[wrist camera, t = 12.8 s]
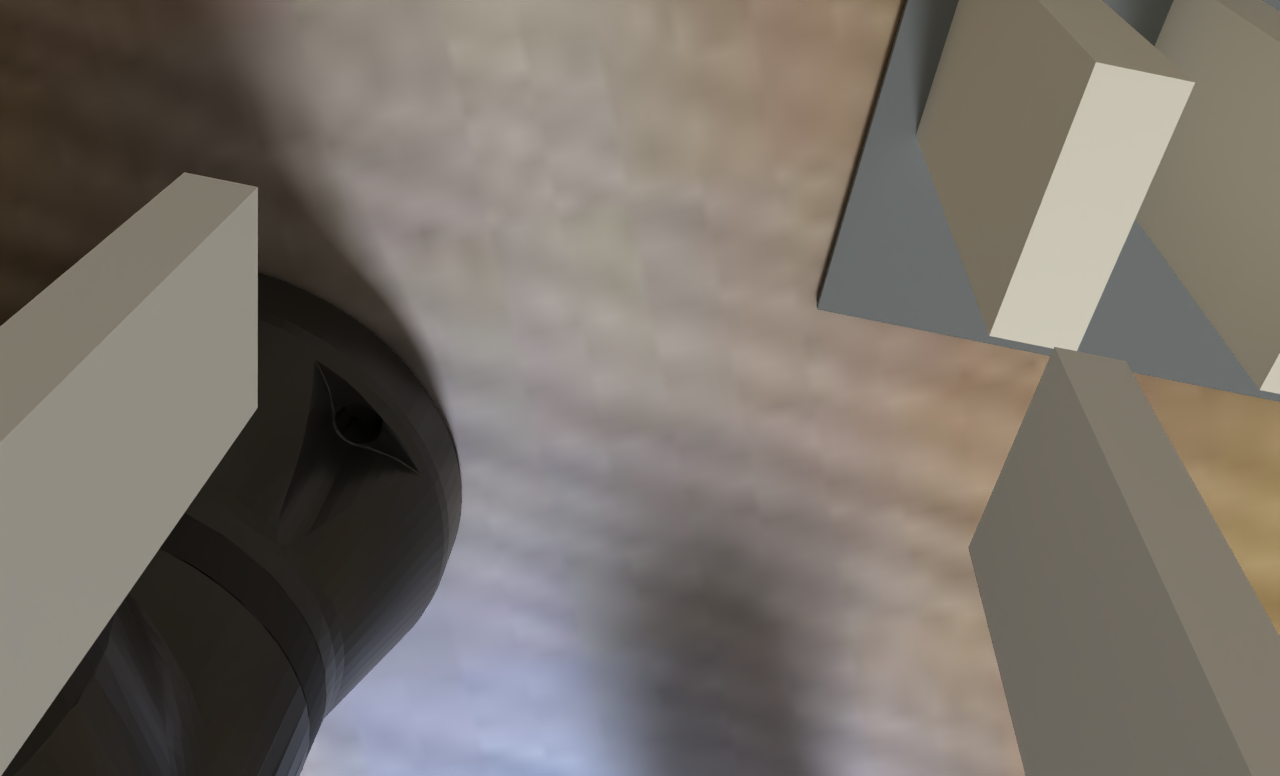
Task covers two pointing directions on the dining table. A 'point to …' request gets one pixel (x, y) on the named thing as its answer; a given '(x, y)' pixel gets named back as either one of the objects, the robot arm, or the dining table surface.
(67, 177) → the dining table surface
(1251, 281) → the domino
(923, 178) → the domino mat
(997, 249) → the domino
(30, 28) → the dining table surface
